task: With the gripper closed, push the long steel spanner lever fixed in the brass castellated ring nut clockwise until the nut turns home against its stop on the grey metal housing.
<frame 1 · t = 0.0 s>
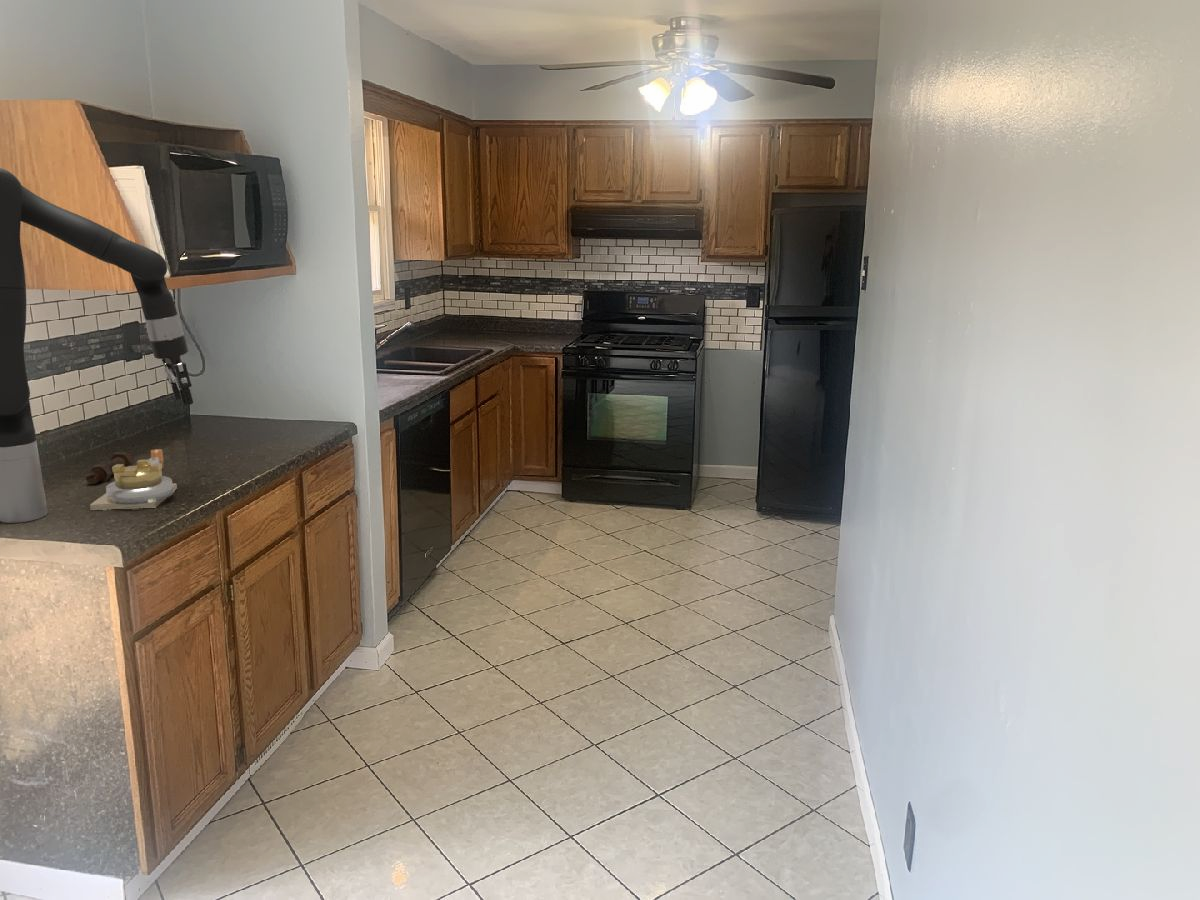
hand: (184, 401, 217), 22 cm above the countertop, tool pointing down, fingers open, 8 cm apart
ring nut: (145, 467, 216), point 7 cm above the countertop, hinge at 0.0°
bolt: (108, 479, 233), on the countertop
cap housing: (141, 501, 213), on the countertop
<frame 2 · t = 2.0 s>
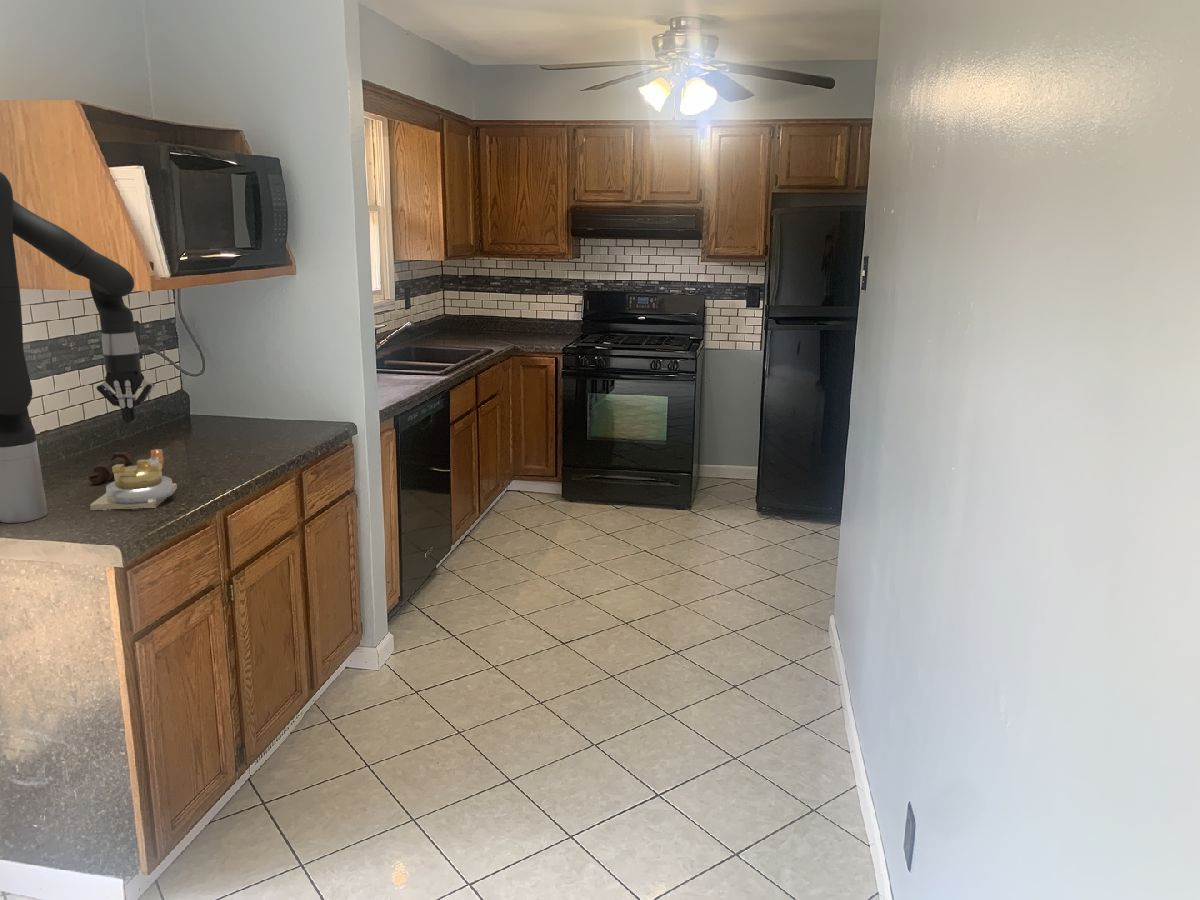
hand: (130, 422, 218), 17 cm above the countertop, tool pointing down, fingers closed
nothing on the countertop moved.
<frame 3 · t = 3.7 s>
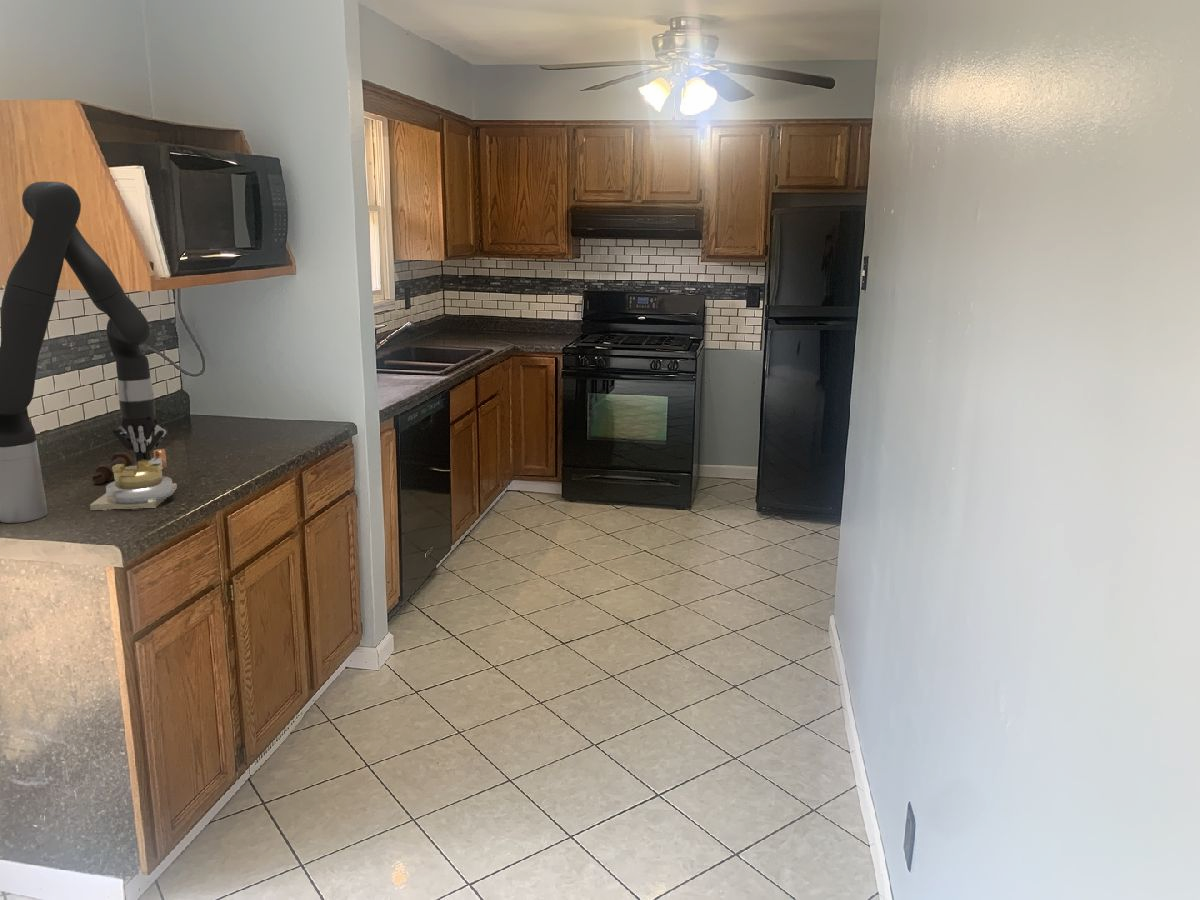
hand: (144, 466, 221), 6 cm above the countertop, tool pointing down, fingers closed
ring nut: (146, 467, 216), point 7 cm above the countertop, hinge at 2.8°, touching gripper
everything else where it was.
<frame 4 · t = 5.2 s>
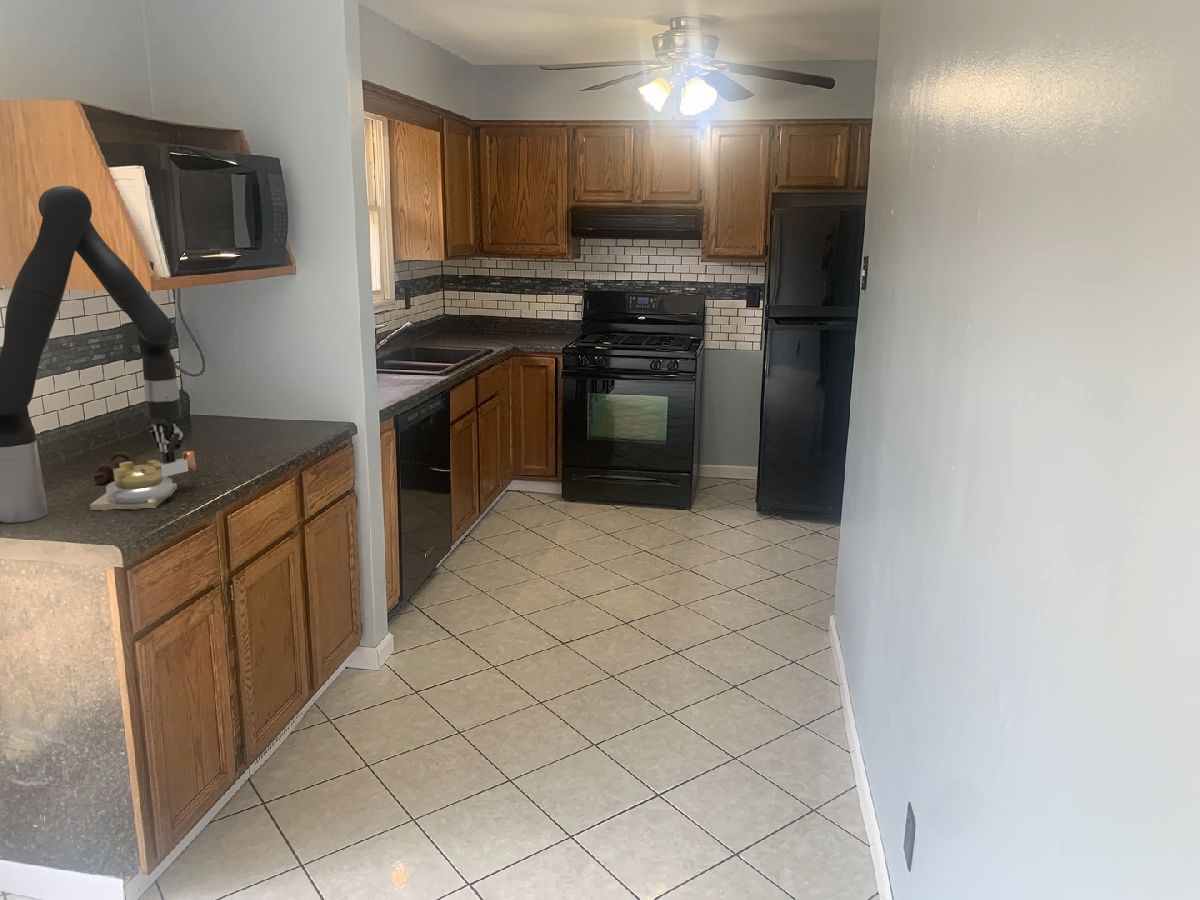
hand: (169, 466, 221), 6 cm above the countertop, tool pointing down, fingers closed
ring nut: (157, 468, 215), point 7 cm above the countertop, hinge at 38.4°, touching gripper
everything else where it was.
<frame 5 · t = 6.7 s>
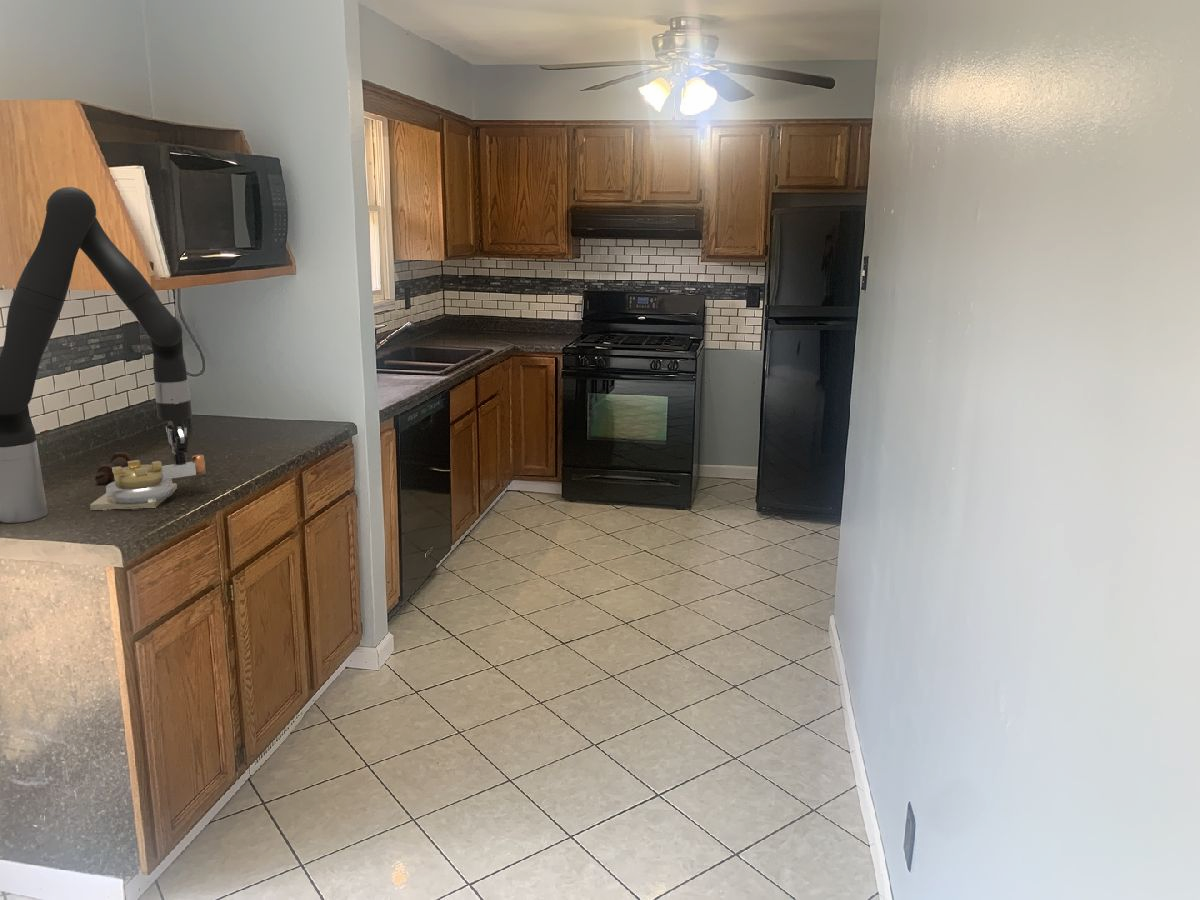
hand: (180, 468, 219), 6 cm above the countertop, tool pointing down, fingers closed
ring nut: (160, 470, 214), point 7 cm above the countertop, hinge at 61.2°, touching gripper
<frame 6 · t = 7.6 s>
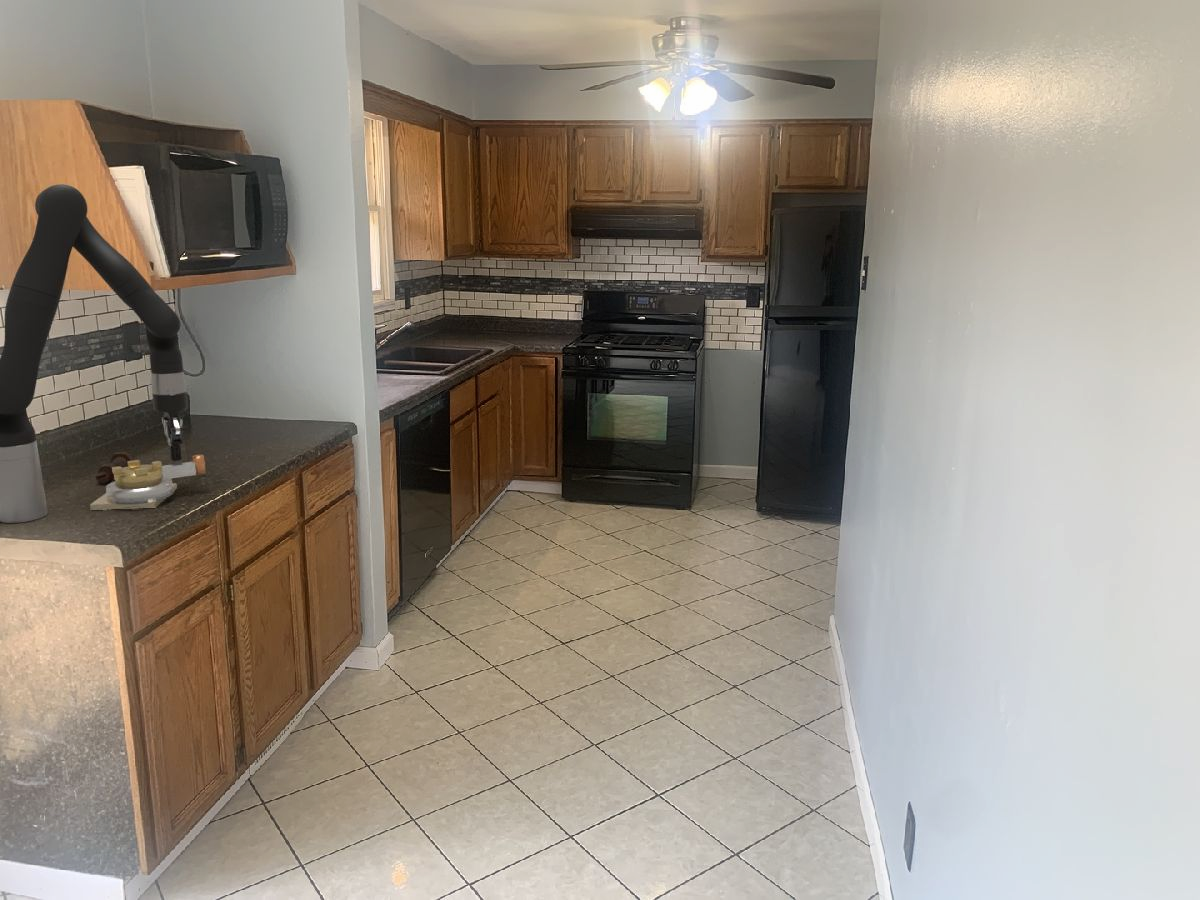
hand: (176, 459, 221), 8 cm above the countertop, tool pointing down, fingers closed
ring nut: (160, 470, 214), point 7 cm above the countertop, hinge at 61.2°
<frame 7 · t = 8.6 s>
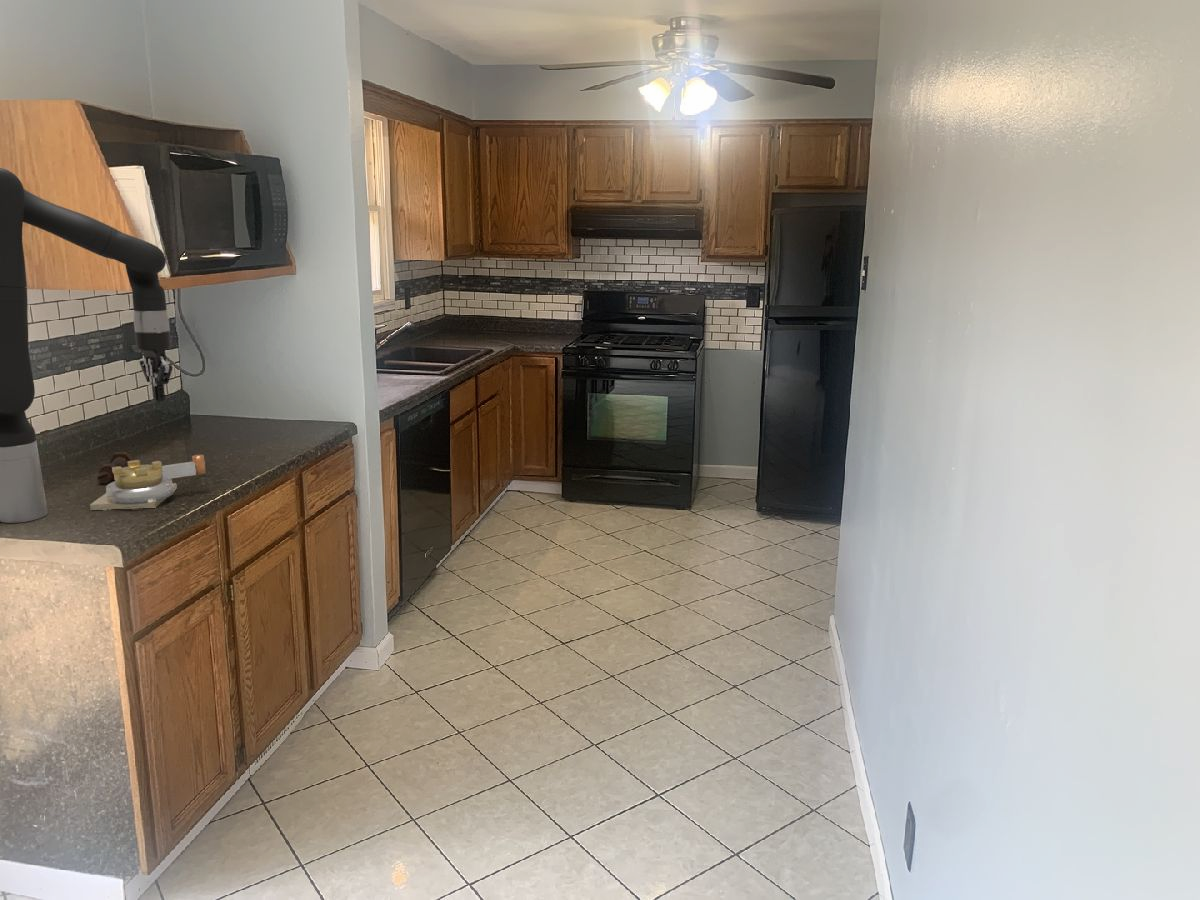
hand: (159, 400, 218), 22 cm above the countertop, tool pointing down, fingers closed
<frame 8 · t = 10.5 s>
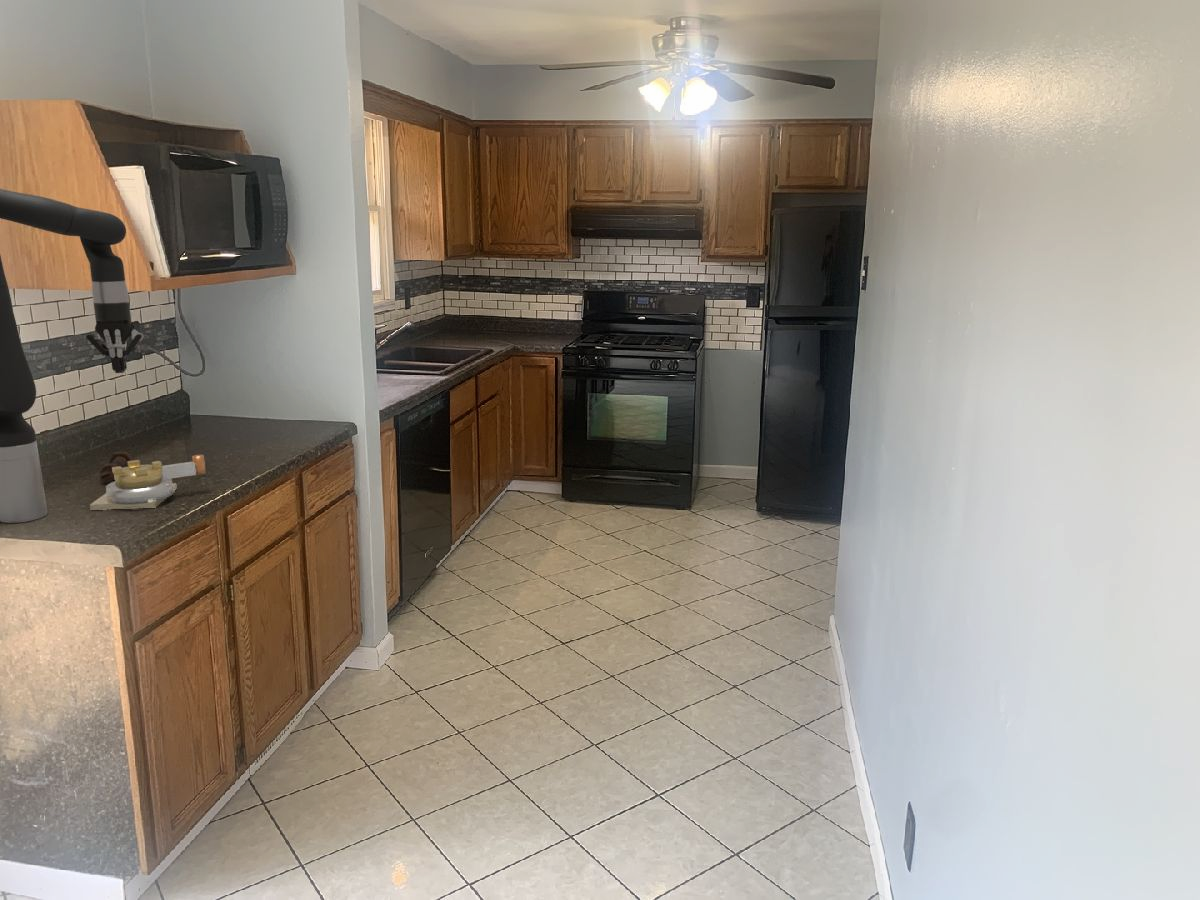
hand: (120, 372, 218), 29 cm above the countertop, tool pointing down, fingers closed
at the end: ring nut at +61° (first picture: +0°) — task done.
